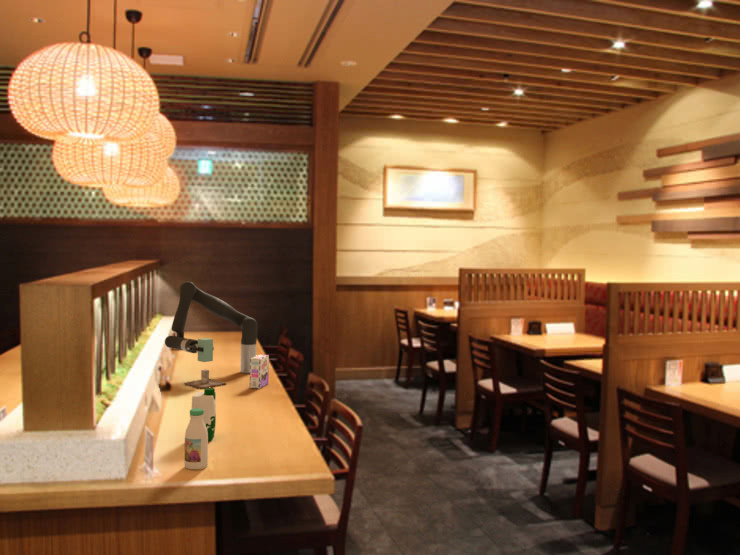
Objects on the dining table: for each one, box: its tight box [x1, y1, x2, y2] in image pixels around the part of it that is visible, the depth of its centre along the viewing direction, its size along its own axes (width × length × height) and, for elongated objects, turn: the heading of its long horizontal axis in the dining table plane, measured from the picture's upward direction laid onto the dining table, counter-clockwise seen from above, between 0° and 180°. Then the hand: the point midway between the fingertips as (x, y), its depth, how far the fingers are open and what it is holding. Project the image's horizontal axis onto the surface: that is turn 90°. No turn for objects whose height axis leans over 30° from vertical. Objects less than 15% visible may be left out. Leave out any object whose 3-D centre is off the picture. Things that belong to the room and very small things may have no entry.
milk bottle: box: [184, 408, 209, 470], centre depth 218 cm, size 8×8×20 cm
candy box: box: [249, 354, 270, 390], centre depth 345 cm, size 14×6×16 cm, turn 168°
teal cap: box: [197, 337, 214, 363], centre depth 345 cm, size 6×6×12 cm
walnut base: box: [183, 369, 227, 390], centre depth 346 cm, size 16×16×8 cm
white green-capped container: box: [191, 387, 217, 442], centre depth 249 cm, size 9×9×20 cm
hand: (208, 349), depth 344 cm, fingers closed on teal cap, 5 cm apart
